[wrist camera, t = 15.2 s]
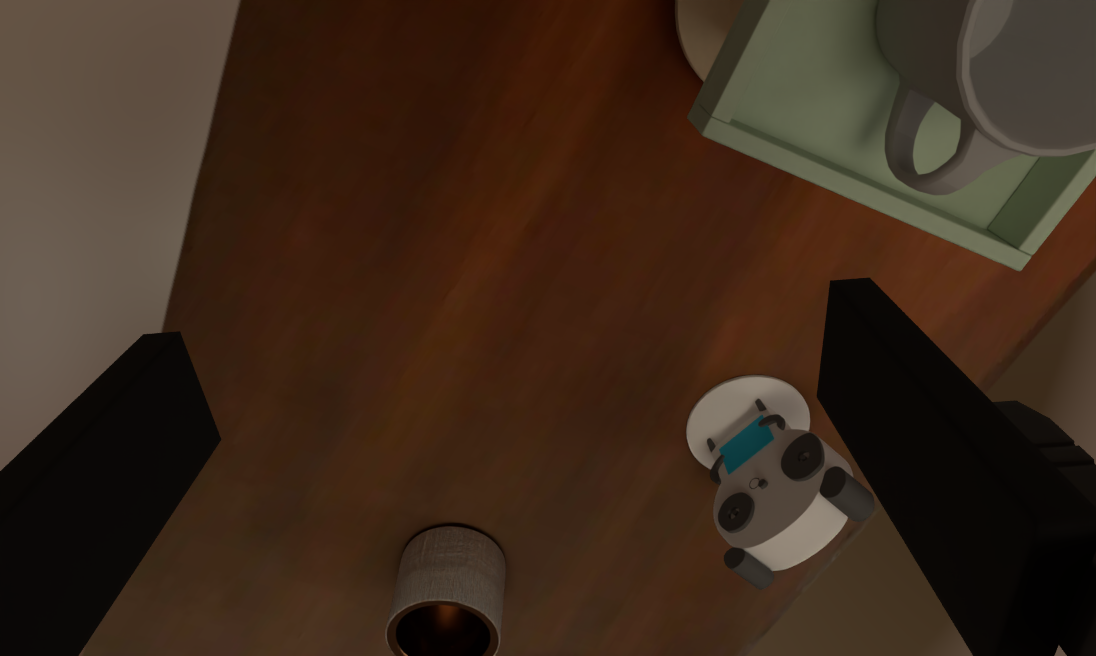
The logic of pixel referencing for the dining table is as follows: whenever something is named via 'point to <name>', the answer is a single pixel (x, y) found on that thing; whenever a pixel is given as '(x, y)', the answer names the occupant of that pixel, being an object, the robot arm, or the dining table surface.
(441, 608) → the planter
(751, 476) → the panda figurine
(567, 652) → the dining table surface
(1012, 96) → the cup
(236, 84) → the dining table surface
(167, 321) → the dining table surface
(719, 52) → the tray
